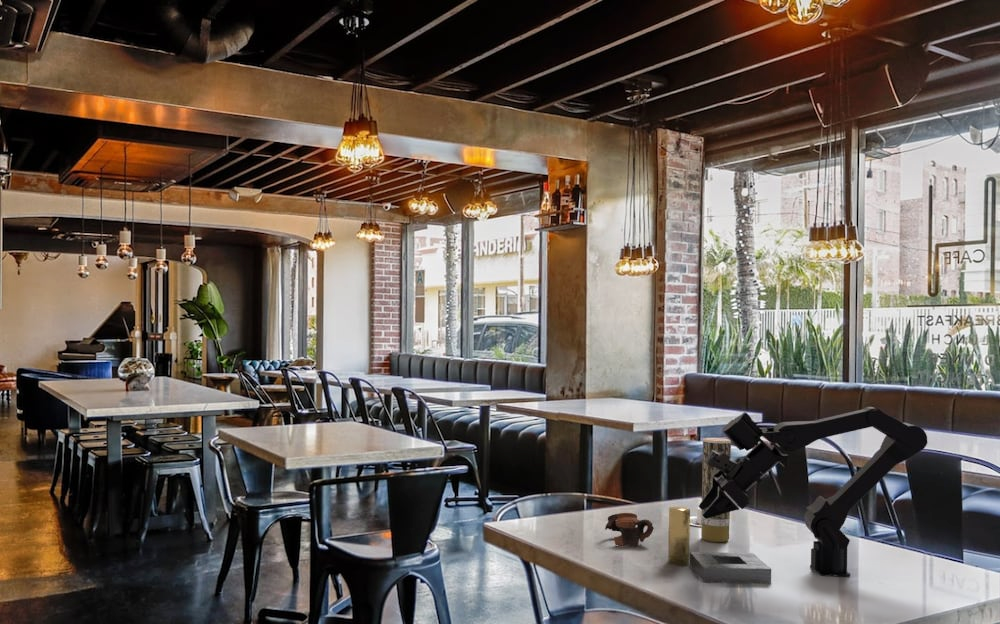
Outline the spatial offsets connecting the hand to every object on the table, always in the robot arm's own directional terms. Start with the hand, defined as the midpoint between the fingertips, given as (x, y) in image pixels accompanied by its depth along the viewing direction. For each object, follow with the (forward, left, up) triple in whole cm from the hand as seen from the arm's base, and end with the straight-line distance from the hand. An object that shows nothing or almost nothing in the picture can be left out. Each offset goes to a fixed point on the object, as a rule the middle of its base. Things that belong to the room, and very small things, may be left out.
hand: (702, 512), depth 183 cm
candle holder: (-11, -40, -12) cm, 43 cm away
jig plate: (-4, +7, -11) cm, 14 cm away
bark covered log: (-9, -22, -12) cm, 26 cm away
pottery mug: (+13, -17, -12) cm, 25 cm away
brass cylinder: (+5, -1, -11) cm, 13 cm away
